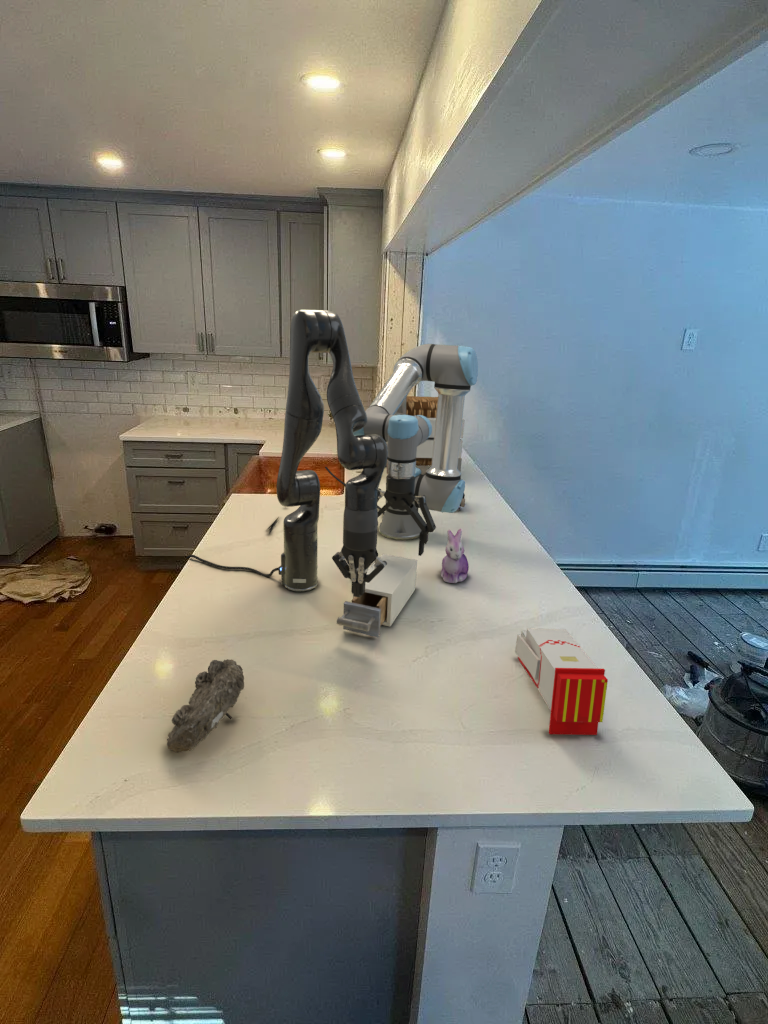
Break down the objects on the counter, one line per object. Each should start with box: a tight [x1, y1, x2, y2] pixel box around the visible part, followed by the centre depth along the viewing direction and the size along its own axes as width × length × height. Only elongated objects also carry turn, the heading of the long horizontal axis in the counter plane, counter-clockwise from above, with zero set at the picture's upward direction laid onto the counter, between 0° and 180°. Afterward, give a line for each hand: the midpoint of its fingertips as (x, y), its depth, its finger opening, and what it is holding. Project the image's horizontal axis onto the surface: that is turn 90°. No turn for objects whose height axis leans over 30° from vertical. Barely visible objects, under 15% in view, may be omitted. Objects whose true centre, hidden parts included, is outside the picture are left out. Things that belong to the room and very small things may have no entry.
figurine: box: [440, 528, 470, 584], centre depth 167 cm, size 9×10×15 cm
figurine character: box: [457, 493, 466, 511], centre depth 229 cm, size 7×8×15 cm
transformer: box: [385, 395, 465, 474], centre depth 268 cm, size 34×33×41 cm
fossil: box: [166, 658, 245, 754], centre depth 106 cm, size 22×10×15 cm
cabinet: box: [352, 553, 418, 627], centre depth 151 cm, size 22×10×9 cm, turn 160°
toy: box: [514, 627, 609, 736], centre depth 119 cm, size 12×13×30 cm
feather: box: [266, 507, 287, 535], centre depth 206 cm, size 2×28×2 cm
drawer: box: [336, 592, 388, 638], centre depth 142 cm, size 26×9×7 cm, turn 160°
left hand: (358, 595), depth 130 cm, fingers closed
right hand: (397, 549), depth 156 cm, fingers open, 13 cm apart
